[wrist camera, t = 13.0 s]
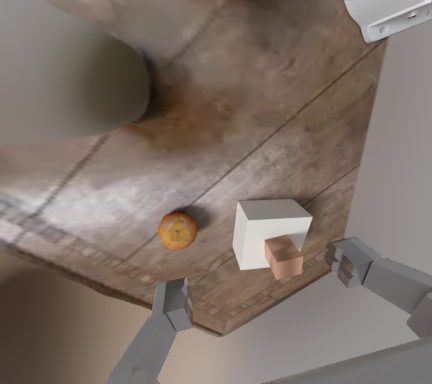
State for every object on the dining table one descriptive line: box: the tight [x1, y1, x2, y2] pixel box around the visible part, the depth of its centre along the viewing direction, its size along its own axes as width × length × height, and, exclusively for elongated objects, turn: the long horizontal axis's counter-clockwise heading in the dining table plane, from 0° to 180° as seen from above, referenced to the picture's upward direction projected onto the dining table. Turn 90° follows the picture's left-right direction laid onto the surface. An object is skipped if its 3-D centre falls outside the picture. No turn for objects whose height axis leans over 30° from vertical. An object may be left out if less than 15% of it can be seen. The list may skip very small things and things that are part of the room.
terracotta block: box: [264, 235, 303, 280], centre depth 35 cm, size 5×5×6 cm
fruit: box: [158, 213, 197, 250], centre depth 38 cm, size 8×8×8 cm
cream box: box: [233, 199, 313, 270], centre depth 42 cm, size 14×14×8 cm
